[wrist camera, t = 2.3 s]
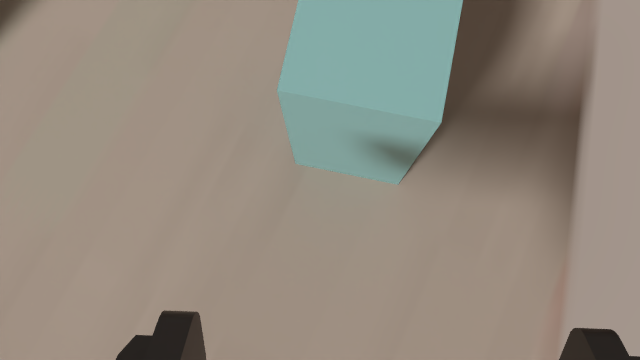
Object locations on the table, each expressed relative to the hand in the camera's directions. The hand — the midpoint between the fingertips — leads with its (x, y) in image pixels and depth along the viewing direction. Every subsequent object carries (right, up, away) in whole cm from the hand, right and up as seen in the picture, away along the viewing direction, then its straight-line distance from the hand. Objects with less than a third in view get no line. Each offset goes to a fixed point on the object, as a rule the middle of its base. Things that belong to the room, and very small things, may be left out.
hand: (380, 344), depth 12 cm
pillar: (0, +6, +15) cm, 16 cm away
